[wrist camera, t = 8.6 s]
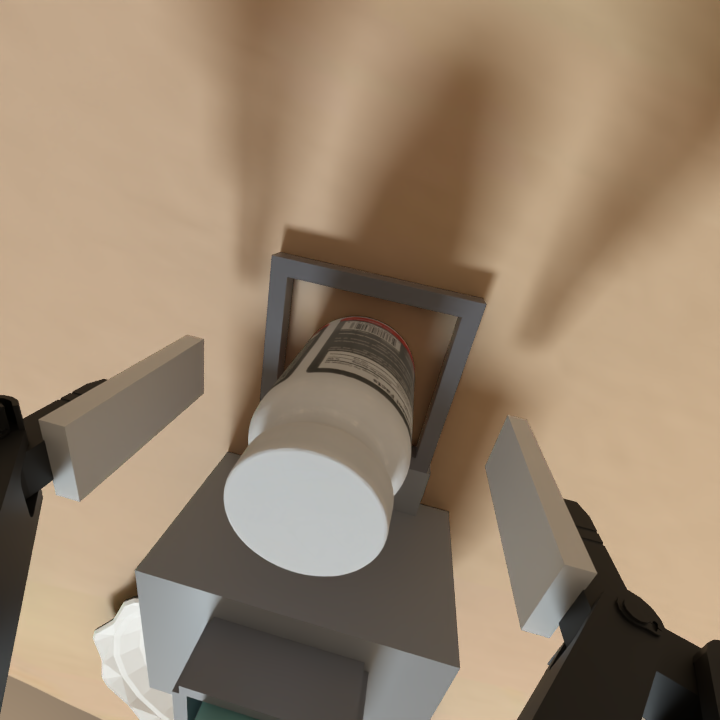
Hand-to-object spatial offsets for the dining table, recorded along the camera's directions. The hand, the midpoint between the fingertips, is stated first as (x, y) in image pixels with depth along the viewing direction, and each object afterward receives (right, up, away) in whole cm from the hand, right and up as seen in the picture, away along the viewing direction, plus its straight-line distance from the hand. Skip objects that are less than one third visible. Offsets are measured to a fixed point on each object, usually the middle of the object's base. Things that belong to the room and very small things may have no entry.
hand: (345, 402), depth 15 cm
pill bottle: (+1, +2, +4) cm, 4 cm away
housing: (-1, -4, +6) cm, 8 cm away
